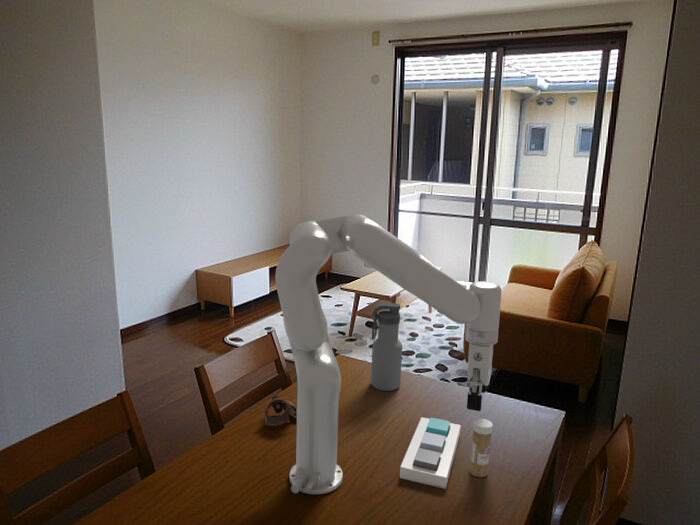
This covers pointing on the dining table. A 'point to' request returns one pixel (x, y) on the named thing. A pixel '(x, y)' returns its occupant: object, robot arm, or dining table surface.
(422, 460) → the charcoal key
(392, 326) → the water bottle
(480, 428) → the sprinkles bottle
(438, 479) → the keypad frame
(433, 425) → the teal key
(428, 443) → the slate key
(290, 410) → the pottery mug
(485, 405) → the dining table surface
